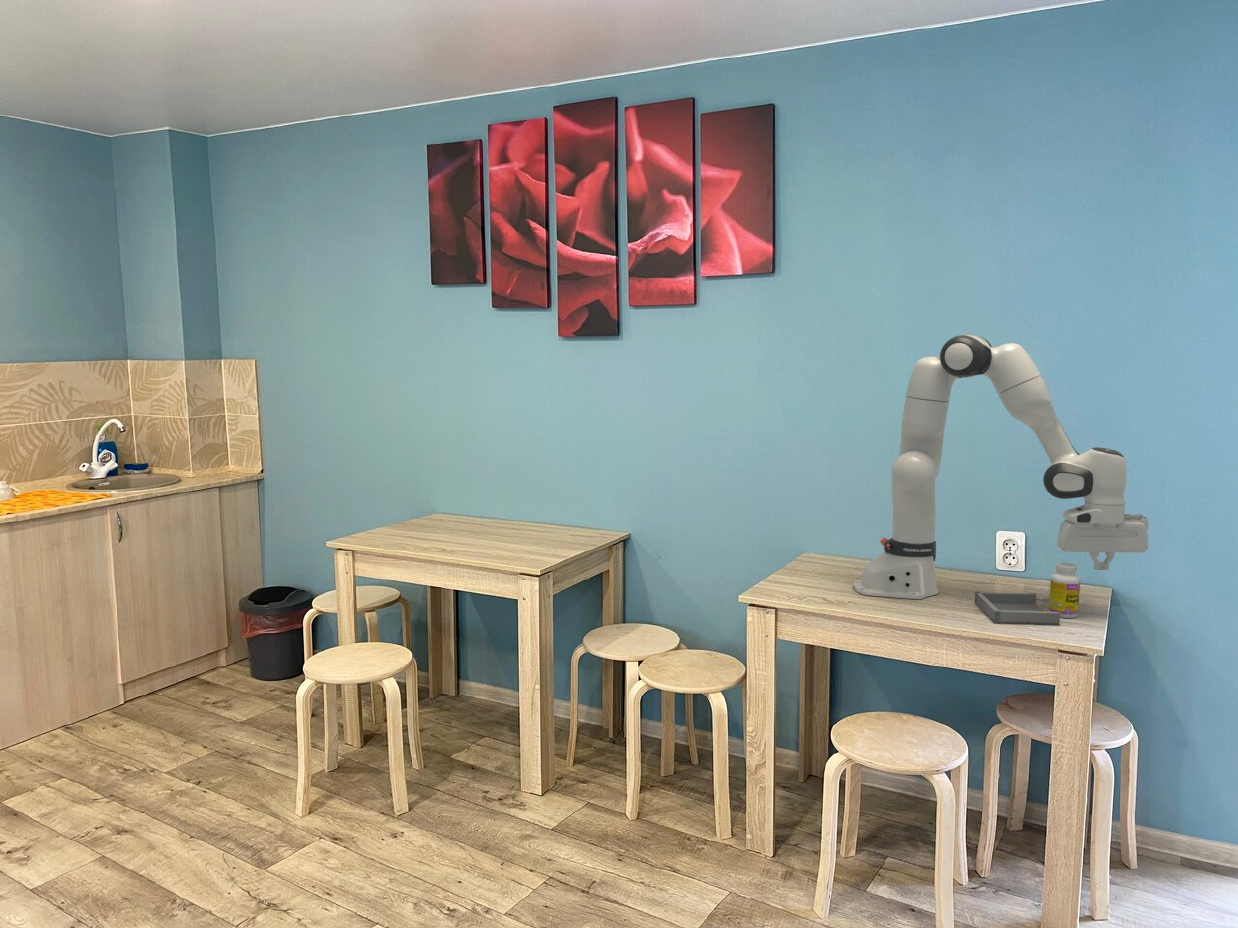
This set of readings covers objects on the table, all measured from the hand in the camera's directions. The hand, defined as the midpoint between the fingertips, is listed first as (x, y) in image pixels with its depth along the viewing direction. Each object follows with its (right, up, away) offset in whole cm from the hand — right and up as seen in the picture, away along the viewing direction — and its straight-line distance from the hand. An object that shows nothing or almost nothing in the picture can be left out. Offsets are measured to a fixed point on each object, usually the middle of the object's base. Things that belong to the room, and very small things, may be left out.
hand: (1101, 569), depth 229 cm
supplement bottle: (-8, -12, +2) cm, 15 cm away
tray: (-20, -12, +4) cm, 23 cm away
